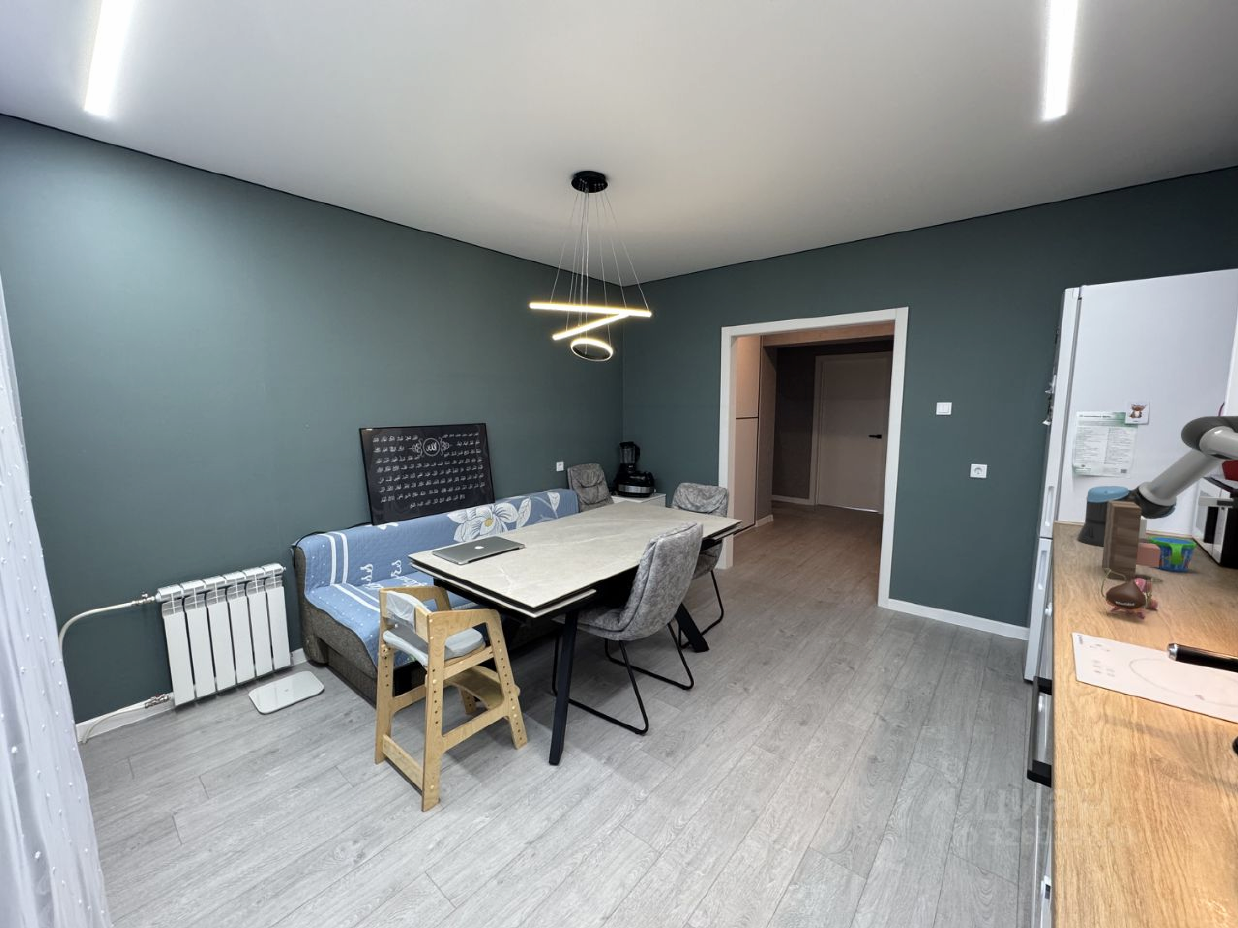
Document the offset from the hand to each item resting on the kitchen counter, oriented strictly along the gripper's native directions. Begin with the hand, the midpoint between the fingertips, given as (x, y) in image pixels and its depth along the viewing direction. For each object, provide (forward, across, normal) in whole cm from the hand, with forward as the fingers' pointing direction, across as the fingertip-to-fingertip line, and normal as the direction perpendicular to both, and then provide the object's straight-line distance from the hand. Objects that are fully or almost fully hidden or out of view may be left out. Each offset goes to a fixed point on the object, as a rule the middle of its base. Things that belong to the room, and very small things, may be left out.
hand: (1199, 500), depth 150 cm
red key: (+10, 0, -22) cm, 24 cm away
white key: (+14, 0, -13) cm, 19 cm away
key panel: (+16, 0, -27) cm, 31 cm away
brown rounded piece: (+18, -40, -27) cm, 51 cm away
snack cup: (+1, +18, -27) cm, 32 cm away
